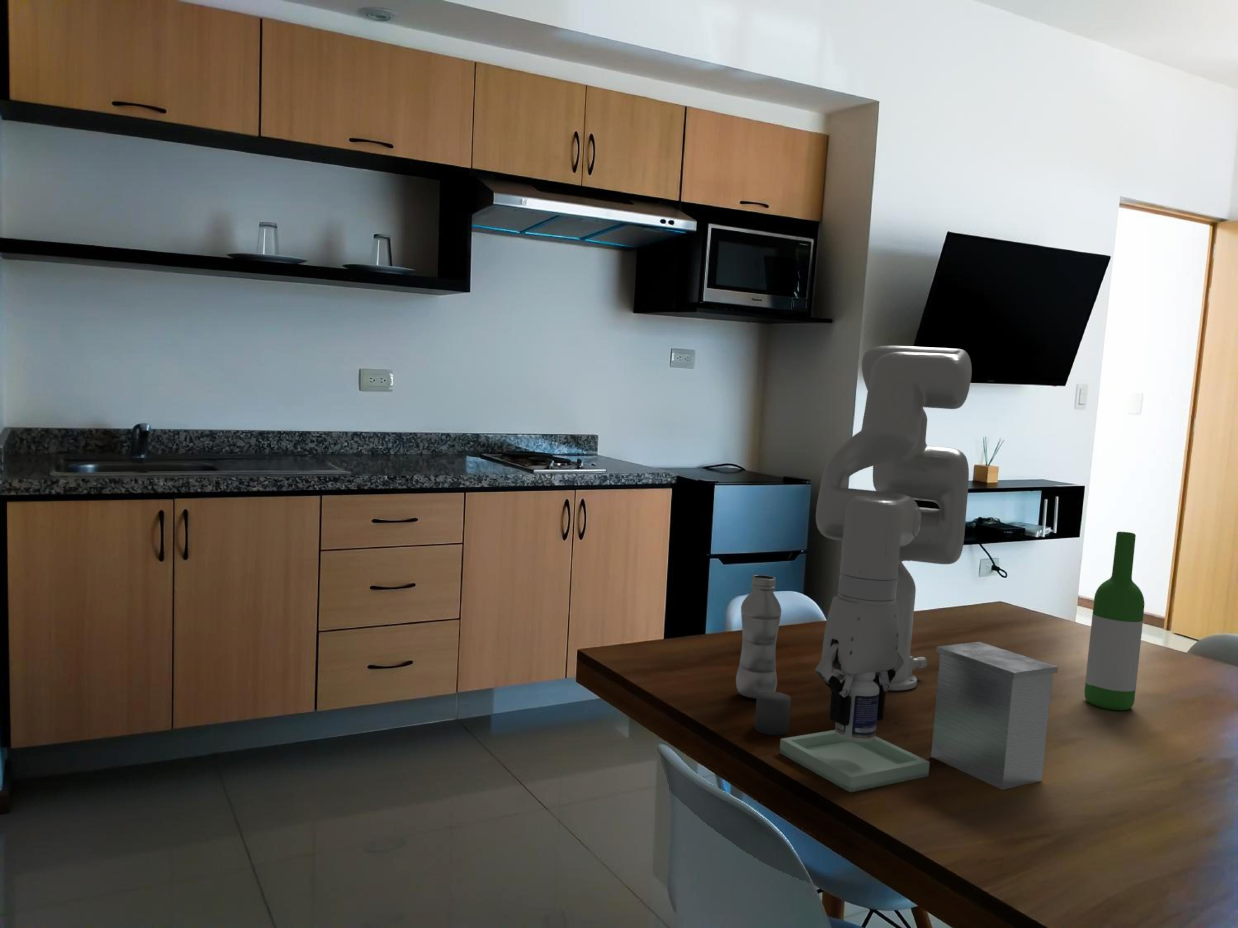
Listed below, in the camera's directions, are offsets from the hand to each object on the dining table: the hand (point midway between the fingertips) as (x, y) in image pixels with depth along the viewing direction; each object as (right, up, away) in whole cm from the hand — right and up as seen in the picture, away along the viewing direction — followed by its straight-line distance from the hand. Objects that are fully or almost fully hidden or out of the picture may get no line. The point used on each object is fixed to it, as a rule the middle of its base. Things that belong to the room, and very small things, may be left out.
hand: (856, 718), depth 130 cm
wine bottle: (+52, -7, +35) cm, 64 cm away
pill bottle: (0, -3, 0) cm, 3 cm away
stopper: (-10, -5, +13) cm, 16 cm away
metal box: (+18, -7, +2) cm, 20 cm away
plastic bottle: (-10, -4, +27) cm, 29 cm away
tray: (0, -6, +1) cm, 6 cm away
